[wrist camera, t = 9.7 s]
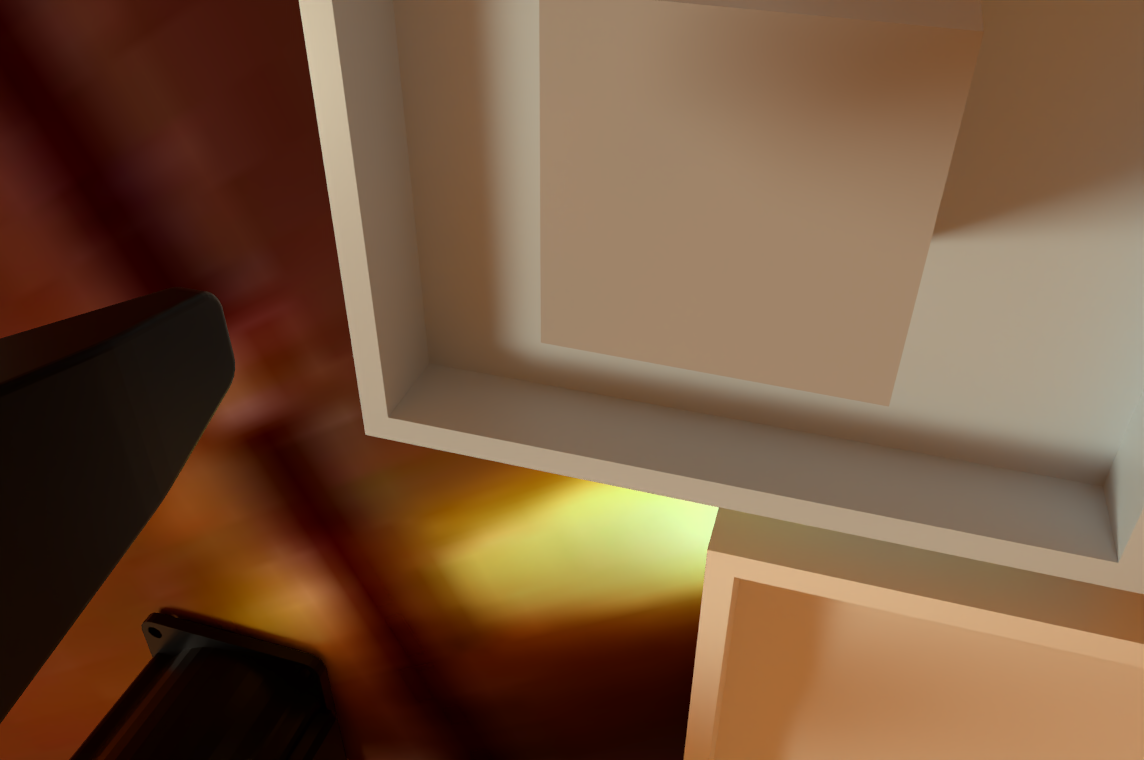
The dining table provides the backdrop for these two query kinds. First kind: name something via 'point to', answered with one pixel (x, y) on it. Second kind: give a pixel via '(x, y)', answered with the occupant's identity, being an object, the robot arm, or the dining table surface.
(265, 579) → the dining table surface
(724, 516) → the bin
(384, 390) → the bin
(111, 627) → the dining table surface
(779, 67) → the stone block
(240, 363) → the dining table surface
